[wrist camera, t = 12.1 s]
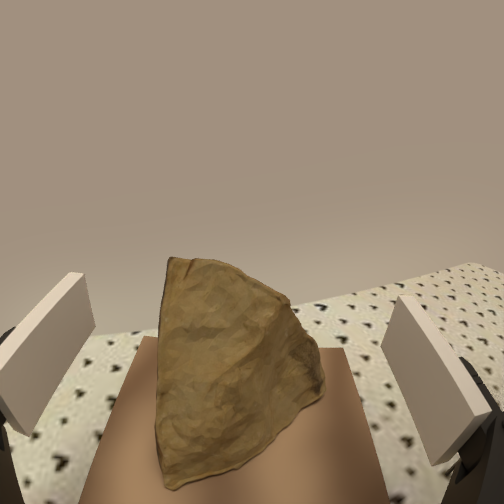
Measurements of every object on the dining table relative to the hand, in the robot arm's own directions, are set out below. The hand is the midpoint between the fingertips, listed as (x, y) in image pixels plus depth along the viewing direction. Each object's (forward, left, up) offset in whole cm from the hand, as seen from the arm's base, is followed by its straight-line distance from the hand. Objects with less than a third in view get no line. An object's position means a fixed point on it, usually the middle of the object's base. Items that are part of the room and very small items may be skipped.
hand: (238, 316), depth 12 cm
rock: (-1, 0, -8) cm, 8 cm away
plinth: (0, 0, -12) cm, 12 cm away
